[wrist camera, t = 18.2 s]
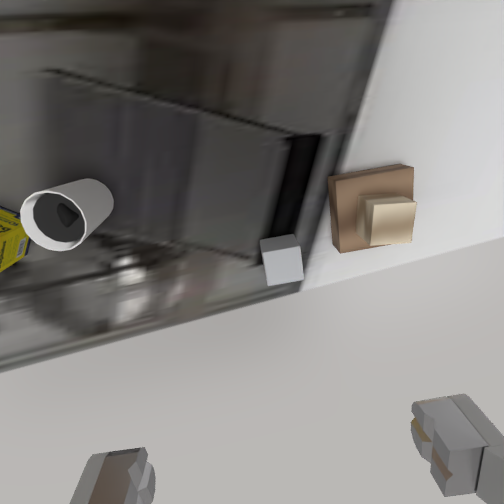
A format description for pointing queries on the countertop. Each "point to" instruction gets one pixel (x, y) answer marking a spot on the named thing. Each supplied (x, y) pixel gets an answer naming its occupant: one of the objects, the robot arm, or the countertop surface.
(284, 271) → the grey block
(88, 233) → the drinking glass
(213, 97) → the countertop surface
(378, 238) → the ash block
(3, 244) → the supplement box
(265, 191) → the countertop surface
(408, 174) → the walnut block
